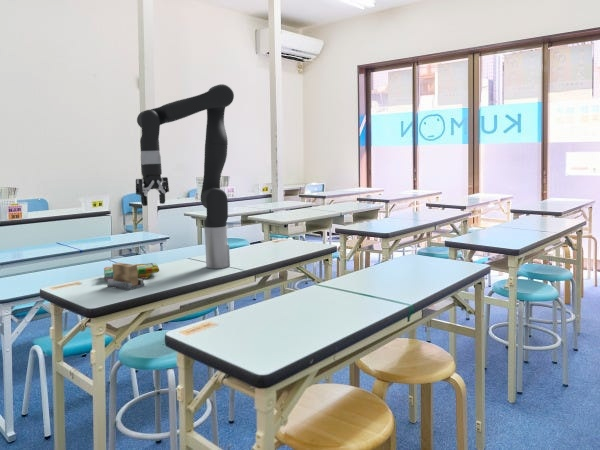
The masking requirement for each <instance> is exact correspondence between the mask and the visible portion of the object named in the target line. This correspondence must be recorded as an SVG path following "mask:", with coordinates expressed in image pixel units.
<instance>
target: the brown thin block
mask: <svg viewBox="0 0 600 450" xmlns="http://www.w3.org/2000/svg"><path fill="white" fill-rule="evenodd" d="M111 267H113V279H115V280H120V281H126V282H131V283H132V286H134V285H137V284H138V273H137V265H136V264H130V263H123V262H117V263H112V266H111Z"/></svg>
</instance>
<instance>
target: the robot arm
mask: <svg viewBox="0 0 600 450" xmlns="http://www.w3.org/2000/svg"><path fill="white" fill-rule="evenodd" d="M207 90H208V91H205V92H203V93H201V94H198V95H194V96H191V97H187V98H182V99H179V100H175V101H172V102H169V103H166V104H163V105H162V106H158V107H155V108H152V109H151V108H150V109H146V110H143V111H141V112H140V113H139V114H138V115H137V118H136V122H137V125H138V127H140V128H141V136H140V140H139V143H140V144H139V146H140V166H141V167H140V170H141V176H142V178H136V179H135V194H136V195H138V196H140V203H141V205H142V206H143V207H147V206H148V196H147V194H148V193H149V192H150V191H151V190H156V191H157V192H158V193H159V194H158V195H159V196H158V197H159V204H160V205H161V204H162V205H165V203H166V194H167V193H169V192H170V187H169V180H168V177H166V176H163V177H162V176H161V175H162V157H161V152H160V140H159V138H160V128H161V125H165V124H167V123H172V122H173V123H174V122H176V121H179V120H182V119H185V118H188V117H189V116H193V115H195V114H197V113H200V112H202V111H206V128H205V139H204V141H205V143H204V160H203V161H204V163H203V178H202V179H203V180H202V186H201V192H200V202H201V205H202V206H203V208H205V209H206V217H205V219H204V222H203V229H204V243H205V244H204V245H205V248H204V249H205V264H206V268H207V269H224V268H228V267H230V266H231V260H230V259H231V257H230V256H231V255H230V244H229V243H228V228H227V227H228V226H227V224H228V223H227V222H228V220H229V219H228V218H229V213H228V212H229V200H228V197H227V196H228V195H227V193H226V192H225V190H223V189H222V188H221V175H222V172H223V169H224V166H225V163H226V161H227V159H228V158H227V157H228V136H227V130H226V127H225V113H226V112H225V111H226V107H229V106H230V105H231V104H232V103H233V101H234V97H235V96H234V95H235V94H234V90H233V89H232V88H231V86H229V85H227V84H223V83H222V84H217V85H214V86H212V87H209V89H207Z"/></svg>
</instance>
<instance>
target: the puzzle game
mask: <svg viewBox="0 0 600 450" xmlns="http://www.w3.org/2000/svg"><path fill="white" fill-rule="evenodd" d="M135 265H137V273H138V279H147V278H148V279H149V278H150V277H151V274H154V273H156V274H157V273H158V272H160V267H159V266H158V265H157V263H156V262H151V263H150V262H148V263H138V264H137V263H136V264H135ZM103 273H104V274H103V275H104V279H106V281H107V282H108V279H113V266H105V267H104V268H103Z"/></svg>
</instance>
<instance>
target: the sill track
mask: <svg viewBox="0 0 600 450" xmlns="http://www.w3.org/2000/svg"><path fill="white" fill-rule="evenodd" d="M106 286H108V288H114V289H119V290H124V291H128V292H129V291H132V290H137V289H138V288H143V287H145V283H144V278H141V279H138V284H137V285H134V286H132V283H131V282H126V281H120V280H115V279H108V281H107V285H106Z"/></svg>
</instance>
